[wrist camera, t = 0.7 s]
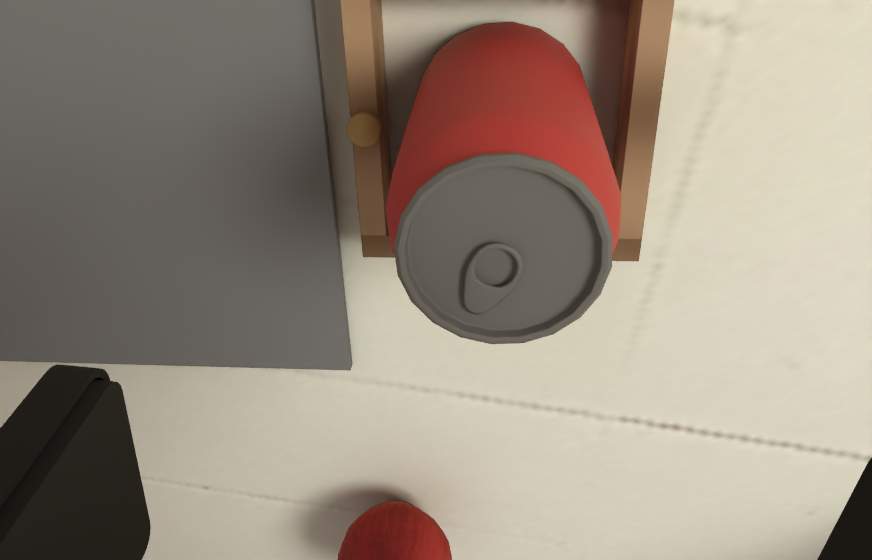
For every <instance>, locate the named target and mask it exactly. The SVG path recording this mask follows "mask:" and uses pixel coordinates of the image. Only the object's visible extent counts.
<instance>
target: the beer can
mask: <svg viewBox="0 0 872 560" xmlns="http://www.w3.org/2000/svg"><path fill="white" fill-rule="evenodd" d="M621 197H622V195H621V192H620V189H619V186H618V182H617V179H616V176H615V173H614V170H613V167H612V164H611V161H610V158H609V154H608V151H607V148H606V145H605V142H604V139H603V136H602V133H601V129H600V126H599V123H598V120H597V117H596V114H595V111H594V108H593V104H592V101H591V98H590V95H589V92H588V89H587V86H586V83H585V80H584V77H583V74H582V71H581V68H580V65H579V64H578V63H577V61H576V60H575V59H574V57H573V56H572V55H571V54H570V52H569V51H568V50H567V48H566V47H565V46H564V44H562V43H561V42H559V41H558V40H556V39H555V38H553V37H552V36H550V35H549V34H547V33H546V32H544V31H542V30H541V29H539V28H535V27H531V26H527V25H523V24H519V23H515V22H501V23H488V24H482V25H480V26H477V27H475V28H472V29H470V30H468V31H465V32H463V33H460V34H458V35H456V36H455V37H454V38H453V39H452V40H451V41H449V42H448V43H447V44H446V45H445V46H444V47H443V48H441V49H440V50H439V51H438V52H437V53H436V54H435V56H434V57H433V59H432V61H431V62H430V64H429V66H428V67H427V69H426V71H425V72H424V74H423V76H422V78H421V81H420V85H419V88H418V91H417V95H416V98H415V101H414V104H413V108H412V111H411V114H410V118H409V121H408V124H407V127H406V131H405V134H404V137H403V141H402V144H401V147H400V150H399V154H398V157H397V160H396V164H395V167H394V170H393V174H392V178H391V183H390V187H389V192H388V197H387V202H386V206H385V209H386V216H387V223H388V230H389V237H390V243H391V249H392V252H393V254H394V256H395V258H396V265H397V273H398V277H399V279H400V280H401V282H402V284H403V286H404V288H405V290H406V292H407V294H408V296H409V298H410V300H411V302H412V303H414V304H415V305H416V306H417V307H418V308H419V309H420V310H421V311H422V312H423V313H424V314H425V315H426V316H427V317H428V318H429V319H430V320H431V321H432V322H433V323H435V324H437V325H439V326H440V327H442V328H444V329H446V330H448V331H450V332H452V333H454V334H456V335H457V336H459V337H463V338H467V339H471V340H476V341H480V342H485V343H489V344H507V343H525V342H528V341H531V340H535V339H538V338H542V337H545V336H549V335H552V334H554V333H556V332H558V331H559V330H561V329H562V328H564V327H566V326H567V325H569V324H570V323H572V322H574V321H575V320H577V319H579V318H580V317H581V316H582V315H583V314H584V313H585V311H586V310H587V309H588V308H589V307H590V306H591V305H592V303H593V302H594V301H595V300H596V299H597V298H598V297H599V295H600V294H601V292H602V289H603V287H604V284H605V282H606V280H607V277H608V275H609V272H610V270H611V267H612V254H613V252H614V249H615V247H616V245H617V242H618V238H619V233H620V221H621Z"/></svg>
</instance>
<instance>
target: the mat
mask: <svg viewBox="0 0 872 560" xmlns="http://www.w3.org/2000/svg"><path fill="white" fill-rule="evenodd" d="M0 361H27V362H64V363H100V364H137V365H174V366H211V367H248V368H285V369H321V370H351V367H352V356H351V346H350V337H349V328H348V318H347V309H346V299H345V290H344V280H343V271H342V262H341V252H340V243H339V233H338V224H337V214H336V205H335V196H334V186H333V177H332V167H331V158H330V148H329V139H328V130H327V120H326V111H325V101H324V92H323V82H322V73H321V63H320V54H319V45H318V35H317V26H316V16H315V7H314V0H0Z"/></svg>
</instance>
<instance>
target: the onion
mask: <svg viewBox="0 0 872 560" xmlns="http://www.w3.org/2000/svg"><path fill="white" fill-rule="evenodd" d="M338 560H452V556H451V551H450V546H449V542H448V540H447V538H446V536H445V534H444V532H443V531H442V529H441V528H440V527H439V525H438V524H437V523H436V521H435V520H434V519H433V518H432V517H430V516H429V515H427V514H426V513H424V512H423V511H422V510H420V509H419V508H417V507H415V506H413V505H412V504H409V503H406V502H396V501H390V502H387V503H383V504H379V505H377V506H375V507H373V508H370V509H369V510H368V511H366V512H365V513H364V514H362V515H361V516H360V517H358V519H357V520H356V521H355V522H354V523H353V524H352V525H351V526H350V527H349V529H348V531H347V533H346V536H345V538H344V541H343V543H342V546H341V549H340V551H339V554H338Z"/></svg>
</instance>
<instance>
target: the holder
mask: <svg viewBox="0 0 872 560" xmlns="http://www.w3.org/2000/svg"><path fill="white" fill-rule="evenodd" d="M340 2H341V13H342V25H343V36H344V47H345V59H346V70H347V81H348V93H349V104H350V115H351V119H350V121H349V123H348V125H347V134H348V137H349V138H350V140H351V141H352V142H353V149H354V161H355V172H356V183H357V195H358V206H359V218H360V229H361V240H362V252H363V257H395V256H394V254H393V252H392V249H391V243H390V237H389V230H388V223H387V216H386V209H385V206H386V202H387V197H388V192H389V187H390V183H391V178H392V173H391V157H390V141H389V124H388V108H387V91H386V75H385V58H384V42H383V25H382V9H381V0H340ZM673 6H674V0H630V6H629V15H628V25H627V34H626V43H625V53H624V62H623V71H622V81H621V90H620V99H619V109H618V118H617V128H616V137H615V146H614V156H613V165H612V167H613V170H614V173H615V176H616V179H617V182H618V186H619V189H620V192H621V195H622V197H621V221H620V233H619V238H618V242H617V245H616V247H615V249H614V252H613V254H612V261H639V255H640V248H641V240H642V233H643V226H644V218H645V211H646V204H647V196H648V189H649V182H650V174H651V167H652V160H653V152H654V145H655V138H656V131H657V123H658V116H659V109H660V101H661V94H662V87H663V79H664V72H665V65H666V57H667V50H668V43H669V35H670V28H671V21H672V14H673Z"/></svg>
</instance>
